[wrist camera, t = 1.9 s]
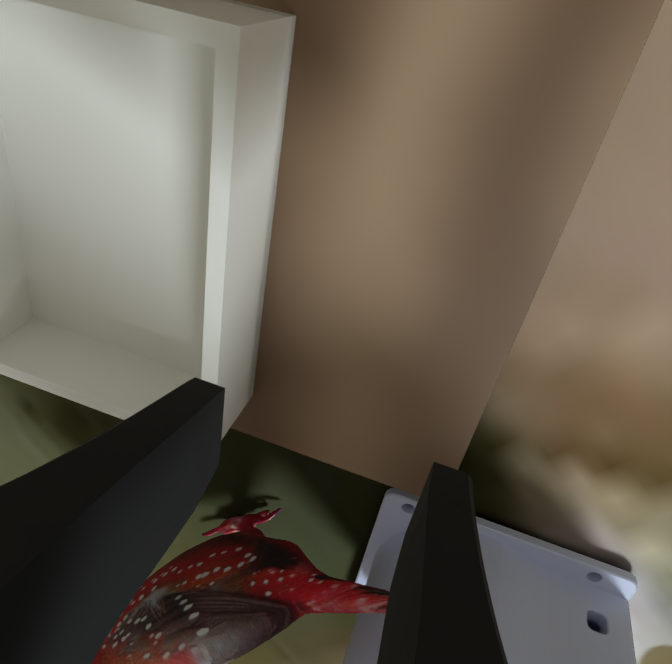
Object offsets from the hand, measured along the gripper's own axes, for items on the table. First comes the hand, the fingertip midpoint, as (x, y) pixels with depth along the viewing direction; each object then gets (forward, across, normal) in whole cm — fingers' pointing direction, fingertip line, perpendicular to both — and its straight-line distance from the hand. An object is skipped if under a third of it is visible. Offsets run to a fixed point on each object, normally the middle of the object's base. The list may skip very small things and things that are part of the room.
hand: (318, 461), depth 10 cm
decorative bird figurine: (+9, +3, +13) cm, 16 cm away
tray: (+7, +8, 0) cm, 11 cm away
